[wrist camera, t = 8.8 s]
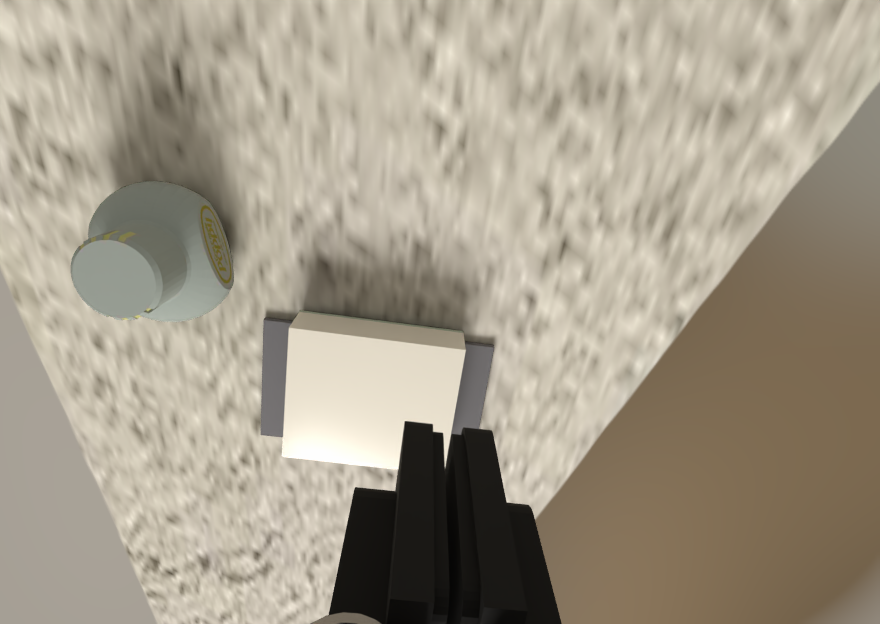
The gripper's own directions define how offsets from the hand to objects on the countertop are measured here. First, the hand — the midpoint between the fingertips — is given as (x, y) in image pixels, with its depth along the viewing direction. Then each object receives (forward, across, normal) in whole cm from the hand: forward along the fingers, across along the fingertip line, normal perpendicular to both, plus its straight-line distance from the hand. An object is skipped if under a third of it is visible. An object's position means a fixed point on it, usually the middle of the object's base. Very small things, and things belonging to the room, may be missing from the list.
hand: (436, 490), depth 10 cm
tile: (+32, +3, +10) cm, 34 cm away
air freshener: (+35, +20, +6) cm, 41 cm away
